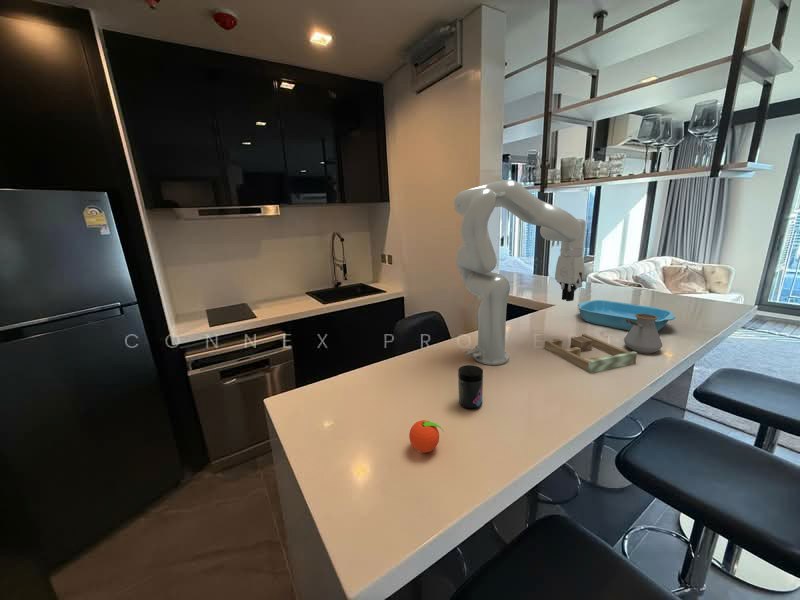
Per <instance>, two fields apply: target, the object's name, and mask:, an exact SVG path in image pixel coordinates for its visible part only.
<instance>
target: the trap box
mask: <svg viewBox="0 0 800 600" xmlns="http://www.w3.org/2000/svg"><path fill="white" fill-rule="evenodd" d="M581 336H583V337H585V338H588V339H590V340H593V342H592V348H596V349H598V350H599V351H602V352H604V353H607V354H608V355H609V356H605V357H599V356H594V357H590V358H584V357H582V355H581V353H582V352H581V349H580V348H578V347H574V348H571V347H569V348H564V347H563V341H564V340H563V339H561V338H559V337H558V338H555V339H554V338H553V339H547V340H544V349H545V350H547V351H549V352H551V353H552V354H554V355H556V356H559V358H562V359H563V360H566V361H567V362H568V363H571V364H572V365H574V366H576V367H578V368H580V369H582V370H584V371H586V372H587V373H589V374H594V373H599V372H604V371H608V370H614V369H617V368H621V367H623V368H624V367H627V366H631V365H636V364H637V358H638V357H637V356H638V352H635V351H633V350H632V351H627V350H625V349H622V348H620V347H618V346H615V345H612V344H611V343H607V342H605V341H603V340H600V339H598V338H596V337H593V336H591V335H588V334H585V333H582V335H581Z"/></svg>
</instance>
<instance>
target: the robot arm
mask: <svg viewBox="0 0 800 600" xmlns="http://www.w3.org/2000/svg"><path fill="white" fill-rule="evenodd" d="M453 206H454V210H455V211H456V213H457V214H458V215H460V216H463V218H462V222H461V226H460V235H461V238H462V239H461V240H462V243H463V244H462V245H461V246H459V248H458V250H457V251H456V259H455V260H456V265H457V267H458V270H459V273H460V276H461V279H462V280H463V283H464V285H465V288H466V289H467V291H468V292H470V294H472V295H474V296H477V297H480V298H481V301H480V303H479V307H478V310H477V311H478V312H477V333H478V334H477V345H475V348H473V349H469V350H466V351H465V356H466V357H469V356H472V359H474V360H475V361H476V362H478V363H480V364H482V365H483V364H484V365H488V366H498V365H499V366H500V365H504V364H507V363H508V362H509V361H510V355H509V353H508V352H507V351H506V329H507V328H506V326H507V322H506V321H507V319H506V318H507V305H508V300H509V295H510V291H511V285H510V282H509V280H508V279H507V277H505V276H504V275H502V274H500V273H498V272H492V271H494V270H495V269H496V267H497V264H498V263H497V262H498V261H497V260H498V259H497V255H496V252H495V249H494V246H493V243H492V240H491V237H490V234H489V228H488V224H489V221H490V218H491V215H492V213H493V212H494V210H495V208H504V209H505V210H506V211H508V212H509V213H511V214H512V215H514V216H515V217H516V218H518V219H519V220H521V221H522V222H523V223H526V224H528V225H529V224H530V225H532V226H533V225H534V226H538V227H540V228H539V229H540V230H539V232H540V233H539V234H540V235H541V237H542V238H543V239H545V240H546V241H553V242H560V249H559V252H560V254H559V255H558V258H557V262H556V267H555V274H554V279H555V280H556V282H557V283H558V284H559V286H560V289H561V291H562V292H561V300H563V301H566V302H572V301H574V299H575V292H576V291H577V289H578V288H582V287H583V282H584V278H585V263H584V262H585V261H584V256H583V255H584V244H585V235H586V234H585V233H586V220H584V219H583V218H576V217H575V216H573V214H571V213H570V212H568V210H567V211H566V210H565V209H562V208H560V207H558V206H555V205H553V204H551V203H549V202H546V201H544V200H541V199H539V198H538V197H537V196H535V195H534V194H533V193H531V192H530V191H529V190H528V189H526V188H525V187H524V186H523V185H522V184H520V183H519V182H517V181H516V180H514V179H505V180H499V181H493V182H489V183H486V184H483V185H482V184H481V185H479V186H476V187H472V188H469V189H465V190H462V191H460V192H459V193H458V194H457V195H456V196H455V198H454V200H453Z"/></svg>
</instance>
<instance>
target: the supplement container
mask: <svg viewBox="0 0 800 600" xmlns="http://www.w3.org/2000/svg"><path fill="white" fill-rule="evenodd" d="M457 373H458V374H457V377H458V381H457V383H458V384H457V385H458V387H457V388H458V391H457V393H458V404H459V405H460V406H461V408H463V409H465V410H469V411H470V410H471V411H472V410H478V409H480V408H481V407H482V406H483V402H484V401H483V395H484V394H483V392H484V391H483V390H484V389H483V386H484V382H483V381H484V370H483V369H482V368H481V367H480V366H477V365H473V364H468V365H462V366H460V367H459V368H458V369H457Z"/></svg>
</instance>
